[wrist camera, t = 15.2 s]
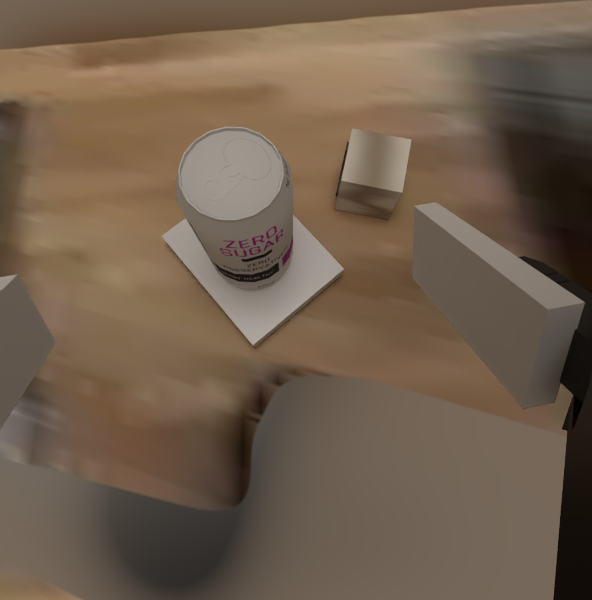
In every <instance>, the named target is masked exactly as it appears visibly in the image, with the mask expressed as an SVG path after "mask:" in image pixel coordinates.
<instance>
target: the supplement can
mask: <svg viewBox="0 0 592 600" xmlns="http://www.w3.org/2000/svg"><path fill="white" fill-rule="evenodd" d="M175 183H176V199H177V202H178V204H179V206H180V208H181V210H182V212H183V214H184V216H185V218H186V220H187V221H188V223H189V225H190V226H191V228H192V230H193V231H194V233H195V235H196V237H197V238H198V240H199V242H200V243H201V245H202V247H203V248H204V250H205V252H206V253H207V255H208V257H209V258H210V260H211V262H212V264H213V265H214V267H215V269H216V270H217V272H218V274H219V275H220V276H222V277H223V278H224V279H225V280H226V281H227V282H228V283H230V284H232V285H234V286H237V287H239V288H242V289H259V288H262V287H266V286H269V285H271V284H273V283H274V282H275V281H277V280H278V279H280V278H281V277H282V276H283V274H284V273H285V272H286V270H287V269H288V267H289V266H290V262H291V258H292V254H293V181H292V174H291V168H290V167H289V165H288V163H287V161H286V160H285V158H284V156H283V154H282V153H281V152H280V151H279V150H278V149H276V147H275V146H274V144H273V143H272V142H270V141H269V140H268V139H267V138H266V137H264V136H263V135H262V134H261V133H258V132H255V131H253V130H250V129H247V128H245V127H223V128H219V129H215V130H211V131H208V132H207V133H205V134H204V135H202V136H201V137H199V138H197V139H196V140H194V141H193V143H192V144H191V145H190V146H189V148H188V149H187V150H186V151H185V153H184V154H183V157H182V160H181V163H180V166H179V169H178V175H177V178H176V181H175Z"/></svg>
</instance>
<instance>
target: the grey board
mask: <svg viewBox="0 0 592 600" xmlns="http://www.w3.org/2000/svg"><path fill="white" fill-rule="evenodd" d="M162 237H163V239H164V240H165V241H166V242H167V244H168V245H169V246H170V247H171V248H172V250H173V251H174V252H175V253H176V254H177V256H178V257H179V258H180V259H181V260H182V262H183V263H184V264H185V265H186V266H187V268H188V269H189V270H190V271H191V272H192V273H193V275H194V276H195V277H196V278H197V279H198V281H199V282H200V283H201V284H202V285H203V287H204V288H205V289H206V290H207V291H208V293H209V294H210V295H211V296H212V297H213V299H214V300H215V301H216V302H217V303H218V305H219V306H220V307H221V308H222V309H223V311H224V312H225V313H226V314H227V315H228V317H229V318H230V319H231V320H232V321H233V323H234V324H235V325H236V326H237V327H238V328H239V330H240V331H241V332H242V333H243V334H244V336H245V337H246V338H247V339H248V340H249V342H250V343H251V344H252V345H253V346H254V348H255V347H257V346H258V345H259V344H260V343H261V342H263V341H264V340H265V339H266V338H267V337H268V336H270V335H271V334H272V333H273V332H274V331H276V330H277V329H278V328H279V327H280V326H282V325H283V324H284V323H285V322H286V321H288V320H289V319H290V318H291V317H292V316H293V315H295V314H296V313H297V312H298V311H299V310H301V309H302V308H303V307H304V306H305V305H307V304H308V303H309V302H310V301H311V300H312V299H314V298H315V297H316V296H317V295H318V294H320V293H321V292H322V291H323V290H324V289H326V288H327V287H328V286H329V285H330V284H332V283H333V282H334V281H335V280H336V279H337V278H339V277H340V276H341V275H342V273H343V270H344V269H343V267H342V266H341V265H340V264H339V263H338V262H337V261H336V260H335V259H334V258H333V257H332V256H331V255H330V253H329V252H328V251H327V250H326V249H325V248H324V247H323V246H322V245H321V244H320V243H319V242H318V241H317V240H316V238H315V237H314V236H313V235H312V234H311V233H310V232H309V231H308V230H307V229H306V228H305V227H304V226H303V225H302V223H301V222H300V221H299V220H298V219H297V218H296V217H295V216H294V215H293V254H292V258H291V262H290V266H289V267H288V269H287V270H286V272H285V273H284V274H283V276H282V277H281V278H280V279H278V280H277V281H275V282H274V283H273V284H271V285H269V286H266V287H262V288H259V289H242V288H239V287H237V286H234V285H232V284H230V283H228V282H227V281H226V280H225V279H224V278H223V277H222V276H220V275H219V274H218V272H217V270H216V269H215V267H214V265H213V264H212V262H211V260H210V258H209V257H208V255H207V253H206V252H205V250H204V248H203V247H202V245H201V243H200V242H199V240H198V238H197V237H196V235H195V233H194V231H193V230H192V228H191V226H190V225H189V223H188V221H187V220H186V218H185V219H184V220H182V221H181V222H180V223H178V224H177V225H176V226H174V227H173V228H172V229H170V230H169V231H168V232H166V233H165V234H164V235H162Z"/></svg>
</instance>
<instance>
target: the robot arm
mask: <svg viewBox="0 0 592 600" xmlns="http://www.w3.org/2000/svg"><path fill="white" fill-rule="evenodd" d="M412 278H413V279H414V280H415V282H416V283H417V284H418V285H419V286H420V288H421V289H422V290H423V291H424V292H425V293H426V295H427V296H428V297H429V298H430V299H431V301H432V302H433V303H434V304H435V305H436V306H437V308H438V309H439V310H440V311H441V312H442V314H443V315H444V316H445V317H446V318H447V319H448V321H449V322H450V323H451V324H452V325H453V327H454V328H455V329H456V330H457V331H458V332H459V334H460V335H461V336H462V337H463V338H464V340H465V341H466V342H467V343H468V344H469V345H470V347H471V348H472V349H473V350H474V351H475V352H476V354H477V355H478V356H479V357H480V358H481V360H482V361H483V362H484V363H485V364H486V365H487V367H488V368H489V369H490V370H491V371H492V373H493V374H494V375H495V376H496V377H497V378H498V380H499V381H500V382H501V383H502V384H503V386H504V387H505V388H506V389H507V390H508V391H509V393H510V394H511V395H512V396H513V397H514V399H515V400H516V401H517V402H518V403H519V404H520V406H521V407H522V408H523V409H525V408H530V407H535V406H540V405H545V404H549V403H554V402H555V400H556V396H557V393H558V390H559V387H560V383H562V384H563V385H564V386H565V387H566V388H567V389H568V390H569V391H570V392H571V393H572V394H573V397H572V400H571V403H570V406H569V409H568V412H567V415H566V418H565V421H564V424H563V427H562V429H563V430H566V431H567V443H566V456H565V468H564V479H563V492H562V503H561V516H560V528H559V539H558V551H557V564H556V576H555V587H554V600H592V293H590V292H589V291H587V290H586V289H584V288H583V287H581V286H579V285H578V284H576V283H575V282H570V279H568V278H567V277H565V276H564V275H562V274H558V272H557V271H556V270H554V269H553V268H551V267H549V266H548V265H546V264H545V263H543V262H540V261H537V260H534V259H531V258H528V257H525V256H523V257H517V256H515V255H514V254H512V253H511V252H509V251H508V250H506V249H505V248H503V247H502V246H500V245H499V244H497V243H496V242H494V241H493V240H491V239H490V238H488V237H487V236H485V235H484V234H482V233H481V232H479V231H478V230H477V229H475V228H474V227H472V226H471V225H469V224H468V223H466V222H465V221H463V220H462V219H460V218H459V217H457V216H456V215H454V214H453V213H451V212H450V211H448V210H447V209H445V208H444V207H442V206H441V205H439V204H438V203H436V202H434V203H429V204H423V205H417V206H414V224H413V257H412ZM55 343H56V342H55V340H54V338H53V336H52V334H51V333H50V331H49V329H48V327H47V326H46V324H45V322H44V320H43V318H42V317H41V315H40V313H39V311H38V310H37V308H36V306H35V304H34V302H33V301H32V299H31V297H30V295H29V294H28V292H27V290H26V288H25V286H24V285H23V283H22V281H21V279H20V278H19V276H18V274H17V275H11V276H6V277H0V429H1V428H2V426H3V424H4V423H5V421H6V420H7V418H8V417H9V415H10V413H11V412H12V410H13V409H14V407H15V406H16V404H17V402H18V401H19V399H20V398H21V396H22V395H23V393H24V392H25V390H26V388H27V387H28V385H29V384H30V382H31V381H32V379H33V377H34V376H35V374H36V373H37V371H38V370H39V368H40V366H41V365H42V363H43V362H44V360H45V359H46V357H47V355H48V354H49V352H50V351H51V349H52V348H53V346H54V344H55Z"/></svg>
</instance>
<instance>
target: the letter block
mask: <svg viewBox="0 0 592 600" xmlns="http://www.w3.org/2000/svg"><path fill="white" fill-rule="evenodd" d="M410 144H411V140H410V139H405V138H400V137H395V136H389V135H384V134H379V133H374V132H369V131H364V130H358V129H353V128H352V132H351V136H350V141H349V142H347V146H346V151H345V155H344V160H343V164H342V169H341V174H340V178H339V183H338V188H337V193H336V196H337V201H336V206H335V209H336V210H341V211H346V212H351V213H356V214H361V215H366V216H371V217H376V218H380V219H385V220H388V219H389V217H390V215H391V213H392V211H393V209H394V207H395V206H396V204H397V202H398V200H399V198H400V196H401V194H402V192H403V186H404V180H405V174H406V168H407V162H408V156H409V150H410Z"/></svg>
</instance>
